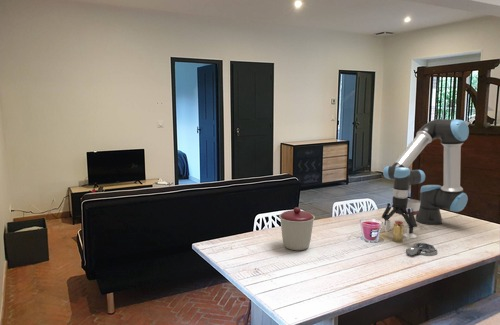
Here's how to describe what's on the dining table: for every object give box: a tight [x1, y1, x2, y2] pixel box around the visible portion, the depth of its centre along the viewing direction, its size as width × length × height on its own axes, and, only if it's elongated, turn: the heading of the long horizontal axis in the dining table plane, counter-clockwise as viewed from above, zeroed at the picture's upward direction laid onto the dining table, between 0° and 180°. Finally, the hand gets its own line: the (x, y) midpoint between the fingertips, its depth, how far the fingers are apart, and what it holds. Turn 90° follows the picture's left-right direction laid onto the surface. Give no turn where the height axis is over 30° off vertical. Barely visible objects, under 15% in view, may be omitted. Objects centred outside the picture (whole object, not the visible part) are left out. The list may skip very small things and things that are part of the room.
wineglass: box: [403, 198, 420, 239], centre depth 205 cm, size 8×9×20 cm
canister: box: [278, 206, 316, 251], centre depth 189 cm, size 18×18×21 cm
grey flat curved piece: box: [405, 242, 438, 257], centre depth 183 cm, size 18×12×4 cm, turn 121°
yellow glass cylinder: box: [392, 220, 405, 244], centre depth 198 cm, size 5×5×11 cm
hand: (397, 235), depth 198 cm, fingers open, 13 cm apart
